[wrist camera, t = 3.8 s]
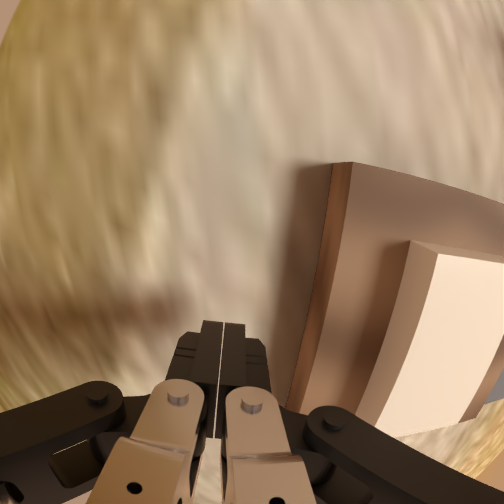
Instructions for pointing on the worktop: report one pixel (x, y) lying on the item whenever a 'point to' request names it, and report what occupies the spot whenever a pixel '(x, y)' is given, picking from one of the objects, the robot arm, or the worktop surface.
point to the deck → (379, 275)
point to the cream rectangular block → (436, 340)
